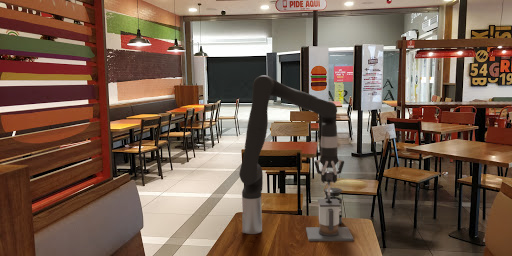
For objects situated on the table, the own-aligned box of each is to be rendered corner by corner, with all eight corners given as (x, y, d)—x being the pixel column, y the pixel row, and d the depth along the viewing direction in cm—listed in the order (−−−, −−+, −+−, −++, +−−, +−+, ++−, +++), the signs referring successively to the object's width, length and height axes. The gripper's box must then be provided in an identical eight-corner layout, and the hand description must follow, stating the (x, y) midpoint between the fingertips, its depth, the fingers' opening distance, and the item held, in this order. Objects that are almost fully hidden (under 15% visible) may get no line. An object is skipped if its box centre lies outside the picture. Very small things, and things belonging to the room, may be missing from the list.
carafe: (320, 239, 181) (320, 207, 180) (317, 228, 194) (317, 199, 192) (341, 238, 181) (342, 207, 179) (337, 228, 193) (337, 198, 191)
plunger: (324, 205, 185) (324, 173, 183) (323, 202, 189) (323, 171, 187) (334, 205, 185) (334, 173, 183) (332, 202, 189) (333, 171, 187)
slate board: (308, 241, 182) (308, 238, 182) (306, 229, 196) (306, 227, 196) (353, 240, 182) (353, 238, 181) (347, 229, 195) (347, 227, 195)
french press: (343, 219, 209) (343, 176, 206) (344, 225, 200) (344, 180, 197) (320, 218, 211) (320, 175, 208) (320, 225, 202) (320, 180, 199)
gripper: (314, 147, 180) (314, 184, 182) (346, 146, 180) (346, 184, 182) (312, 144, 188) (312, 180, 190) (343, 144, 187) (343, 180, 189)
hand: (329, 182), depth 186 cm, fingers closed on plunger, 4 cm apart
